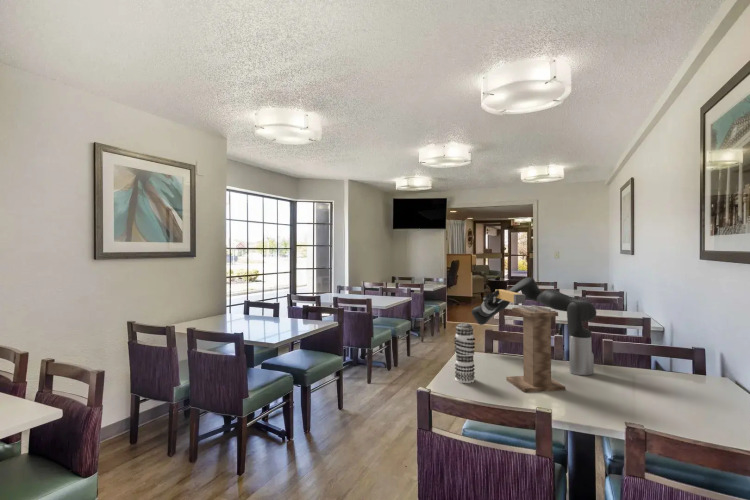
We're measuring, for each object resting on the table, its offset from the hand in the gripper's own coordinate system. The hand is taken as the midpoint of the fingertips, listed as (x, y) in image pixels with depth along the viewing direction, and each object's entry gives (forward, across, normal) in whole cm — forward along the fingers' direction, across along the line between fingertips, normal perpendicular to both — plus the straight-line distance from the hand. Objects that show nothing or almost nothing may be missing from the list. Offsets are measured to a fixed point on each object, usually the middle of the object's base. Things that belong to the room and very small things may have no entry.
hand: (502, 291), depth 206 cm
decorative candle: (-1, +27, -42) cm, 50 cm away
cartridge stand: (+9, 0, -47) cm, 48 cm away
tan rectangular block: (+4, 0, -6) cm, 7 cm away
